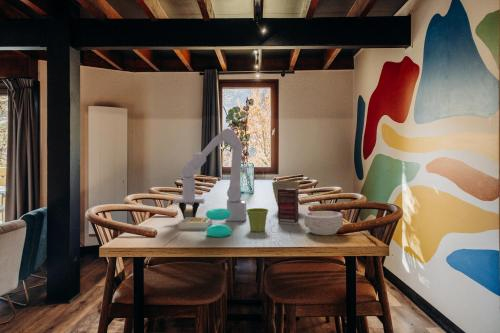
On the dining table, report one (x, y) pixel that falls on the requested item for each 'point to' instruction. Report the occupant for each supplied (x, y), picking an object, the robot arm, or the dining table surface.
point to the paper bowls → (323, 222)
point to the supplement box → (288, 206)
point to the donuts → (218, 229)
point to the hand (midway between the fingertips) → (189, 218)
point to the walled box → (195, 223)
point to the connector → (188, 212)
